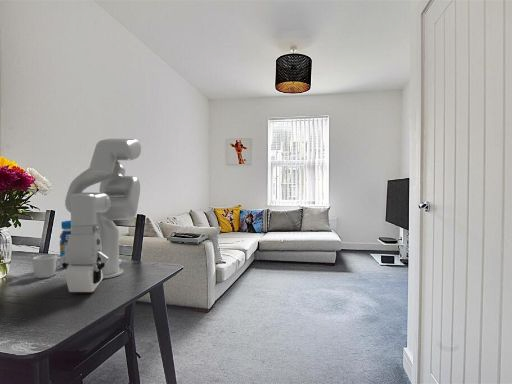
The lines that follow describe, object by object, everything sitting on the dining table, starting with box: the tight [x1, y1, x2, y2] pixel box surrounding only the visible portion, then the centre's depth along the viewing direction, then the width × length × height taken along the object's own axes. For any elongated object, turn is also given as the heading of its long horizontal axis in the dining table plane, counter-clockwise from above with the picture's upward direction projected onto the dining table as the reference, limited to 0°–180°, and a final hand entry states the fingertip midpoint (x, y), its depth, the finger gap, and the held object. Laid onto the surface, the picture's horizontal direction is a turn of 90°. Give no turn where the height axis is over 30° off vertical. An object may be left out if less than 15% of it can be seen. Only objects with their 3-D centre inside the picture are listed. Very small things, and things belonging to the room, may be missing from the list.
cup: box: [31, 254, 64, 279], centre depth 122 cm, size 11×8×8 cm
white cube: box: [63, 259, 104, 293], centre depth 103 cm, size 8×8×8 cm
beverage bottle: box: [58, 220, 71, 266], centre depth 138 cm, size 8×8×20 cm
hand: (84, 282), depth 103 cm, fingers closed on white cube, 7 cm apart
